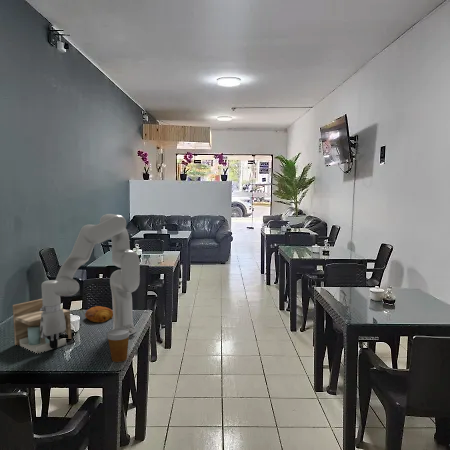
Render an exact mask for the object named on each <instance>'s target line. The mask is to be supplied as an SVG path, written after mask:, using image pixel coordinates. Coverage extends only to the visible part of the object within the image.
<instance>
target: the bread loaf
mask: <svg viewBox="0 0 450 450" xmlns="http://www.w3.org/2000/svg"><path fill="white" fill-rule="evenodd" d="M84 317H85V318H86V319H87V320H89V321H90V322H93V323H105V322H107V321H108V320H112V319H113V309H111V308H109V307H106V306H99V305H96V306H92V307H90V308H89V309H87V310H86V311H85V313H84Z"/></svg>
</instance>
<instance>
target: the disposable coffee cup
mask: <svg viewBox="0 0 450 450" xmlns="http://www.w3.org/2000/svg"><path fill="white" fill-rule="evenodd" d="M112 329H113V328H112ZM112 329H110V330H109V331H107V334H106V337H107V340H108V346H109V347H108V348H109V352H110V357H111V361H112V362H115V363H121V362H125V361H127V359H128V348H129V339H130V338H129V337H130V336H131V335H130V333H129V330H128V329H124V328H118V329H113V330H112Z"/></svg>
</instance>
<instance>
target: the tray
mask: <svg viewBox="0 0 450 450" xmlns="http://www.w3.org/2000/svg"><path fill="white" fill-rule="evenodd" d="M41 335H42V334H41V333H40V326H30V327H28V337H26V338H23V339H19V340H20V345H19V347H20V348H23V347H24V348H23V349H25V348H26V349H25V350H27V349H28V350H27V351H29V350H30V352H32V351H33V352H32V353H34V352H35V353H34V354H36V353H37V354H36V355H39V354H42V353H45V352H48V351H50V350H53V349H52V348H51V347H50V342H49V343H46V342H45V338H41ZM63 346H67V340H66V338H60V337H59V338H58V345H57V348H56V349H58V348H61V347H63ZM44 351H45V352H44ZM41 352H42V353H41ZM38 353H39V354H38Z"/></svg>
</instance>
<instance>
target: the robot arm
mask: <svg viewBox="0 0 450 450" xmlns="http://www.w3.org/2000/svg"><path fill="white" fill-rule="evenodd" d="M109 239H111V261H112V264H113V265H114V266H115V267H117V268H120V269H117V270H115V271H113V272H112V273H111V275H110V278H109V284H110V285H109V286H110V291H111V298H112V299H111V300H112V311H113V317H112V321H113V323H112V324H113V325H112V326H113V327H112V329H111V330H113V329H118V328H124V329H128V330H129V333H130V335H129V336H131V335H133V334H135V333H136V332H137V330H138V329H137V327H135V324H134V321H133V296H132V293H133V292H136V291H137V289H138V288H139V286H140V281H141V277H140V276H141V275H140V274H141V273H140V272H141V267H140V263H141V262H140V258H139V257H140V256H139V255H138V253H136V251H135V250H131V248H130V247H131V246H130V244H131V243H130V235H129V232H128V230H127V220H126V218H125V216H123V215H120V214H114V213H106V214H103V215H102V216H101V217H100V218H99V223H98V224H89V223H88V224H85V225H83V226H82V227H81V228H80V230H79V233H78V236H77V238H76V240H75V241H74V244H73V247H72V250H71V252H70V254H69V255H68V257H67V258H66V259H65V261H64V262H63V263H62V265H61V266H60V268H59V270H58V273H57V275H56V278H55V279H51V280H50V279H49V280H45V281H43V282H42V283H41V286H40V287H41V299H42V305H43V306H42V308H40V311H43V312H42V314H41V321H40V331H41V334H42V335H41V338H47V339H49V341H50V347H51V348H52V350H55V349H58V348H57V345H58V338H59V339H60V337H59V336H60V334H62V333H64V332H65V330H66V323H65V316H64V312H63V309H64V308H62V304H61V297H62V296H63V297H64V296H74V295H75V294H77V293H78V292H79V290H80V283H79V282H78V281H77V280H76V279H74V276H75V275H76V272H77V270H78V269H79V268H80V267H81V266H82V265H84V264H86V263H87V262H88V261H89V260H90V258H91V255H92V252H93V249H94V248H95V246H96V244H97V245H98V244H101V243H103V242H106V241H108V240H109ZM61 308H62V309H61Z"/></svg>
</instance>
